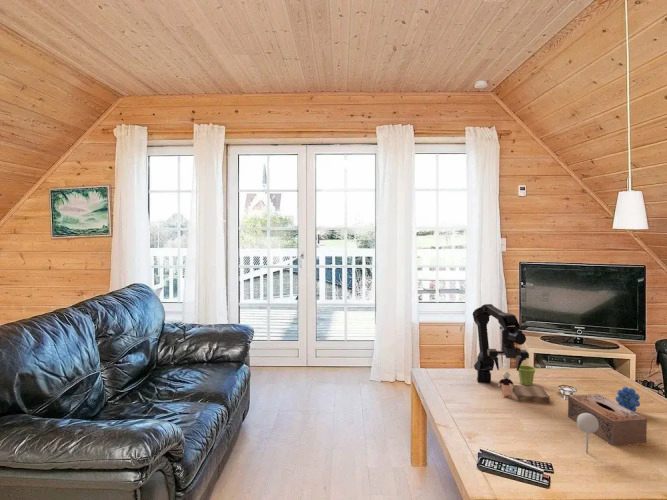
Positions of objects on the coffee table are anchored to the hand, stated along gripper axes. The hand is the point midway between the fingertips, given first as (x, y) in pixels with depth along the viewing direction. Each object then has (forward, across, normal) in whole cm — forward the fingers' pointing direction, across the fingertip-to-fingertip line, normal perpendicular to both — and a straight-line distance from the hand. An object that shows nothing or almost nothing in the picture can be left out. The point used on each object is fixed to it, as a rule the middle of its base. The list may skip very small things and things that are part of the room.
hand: (507, 370), depth 214 cm
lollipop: (+14, +17, -52) cm, 57 cm away
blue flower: (+14, +50, -13) cm, 53 cm away
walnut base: (+13, +11, +1) cm, 17 cm away
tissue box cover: (+14, +32, -31) cm, 47 cm away
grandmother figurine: (+13, -1, -1) cm, 13 cm away
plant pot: (+13, +14, +20) cm, 28 cm away
